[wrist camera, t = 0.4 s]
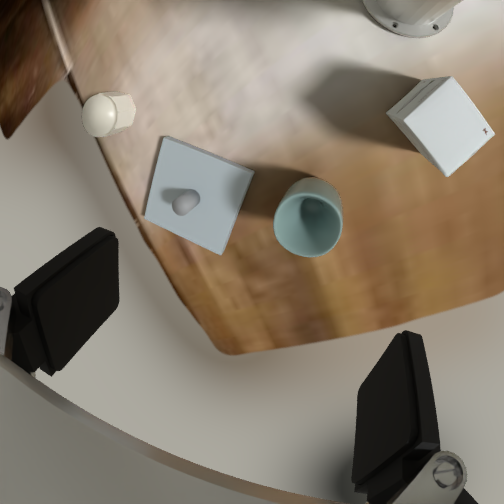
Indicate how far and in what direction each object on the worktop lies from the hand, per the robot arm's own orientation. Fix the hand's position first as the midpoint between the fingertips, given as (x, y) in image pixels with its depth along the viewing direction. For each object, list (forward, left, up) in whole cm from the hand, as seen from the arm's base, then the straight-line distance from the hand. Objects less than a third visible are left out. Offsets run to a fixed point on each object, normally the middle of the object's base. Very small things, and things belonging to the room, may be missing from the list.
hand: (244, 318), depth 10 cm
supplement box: (-10, +11, -36) cm, 38 cm away
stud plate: (+14, -13, -35) cm, 40 cm away
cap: (+6, -30, -35) cm, 47 cm away
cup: (+7, +3, -36) cm, 36 cm away
